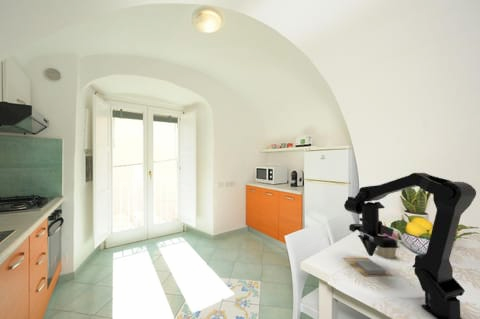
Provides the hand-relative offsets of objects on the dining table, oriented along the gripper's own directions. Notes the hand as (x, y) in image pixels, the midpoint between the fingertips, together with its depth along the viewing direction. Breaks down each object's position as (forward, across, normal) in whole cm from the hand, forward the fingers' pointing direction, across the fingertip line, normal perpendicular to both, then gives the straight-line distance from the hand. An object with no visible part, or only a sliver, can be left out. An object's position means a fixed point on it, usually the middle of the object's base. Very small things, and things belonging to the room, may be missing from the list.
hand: (370, 255), depth 74 cm
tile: (+5, +4, 0) cm, 6 cm away
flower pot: (+7, +12, -17) cm, 22 cm away
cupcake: (+7, +25, -30) cm, 40 cm away
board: (+7, +3, 0) cm, 7 cm away
